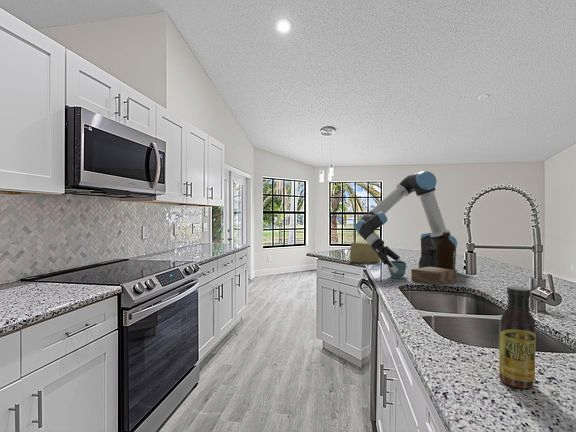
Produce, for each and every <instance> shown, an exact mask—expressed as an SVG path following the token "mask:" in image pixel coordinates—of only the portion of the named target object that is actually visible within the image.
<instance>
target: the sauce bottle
mask: <svg viewBox="0 0 576 432" xmlns="http://www.w3.org/2000/svg"><path fill="white" fill-rule="evenodd" d="M506 289H507V291H506V293H507V308H506V310H505V311H504V313H503V314H502V316H501V318H500V329H499V352H498V353H499V354H498V355H499V357H498V358H499V361H498V372H499V379H500V381H501V382H502V383H504V384H505V385H507V386H510V387H513V388H516V389H517V388H518V389H532V388H533V387H534V381H535V379H536V378H535V377H536V350H537V349H536V345H537V344H536V343H537V342H536V339H537V336H536V335H537V331H536V321H535V318H534V316H533V314H532V313H531V311H530V308H531V307H530V298H531V295H532V294H531V289H530V288H527V287H522V286H514V285H513V286H508V287H507V288H506Z"/></svg>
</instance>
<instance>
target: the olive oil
mask: <svg viewBox="0 0 576 432" xmlns="http://www.w3.org/2000/svg"><path fill="white" fill-rule="evenodd" d="M436 257H437V268H445V269H452V270H456V261H457V260H456V259H457V258H456V257H457V248H456V247H455V245H454V244H453V243H452V242H451V241H450V240H449V233H448V232H443V239H442V240H441V241H440V242H439V243H438V244H437V246H436Z"/></svg>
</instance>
